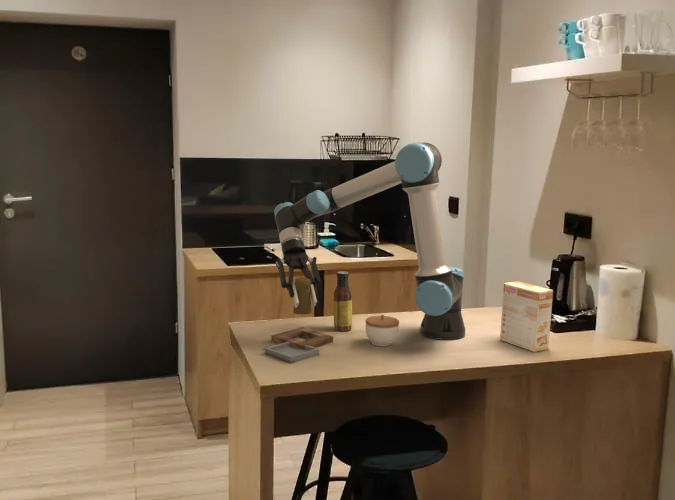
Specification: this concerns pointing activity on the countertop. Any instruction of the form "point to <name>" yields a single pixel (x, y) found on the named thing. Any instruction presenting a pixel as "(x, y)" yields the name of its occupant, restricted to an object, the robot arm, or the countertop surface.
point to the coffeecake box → (526, 316)
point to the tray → (291, 352)
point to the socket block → (314, 336)
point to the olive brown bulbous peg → (303, 296)
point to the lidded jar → (382, 329)
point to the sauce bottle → (342, 303)
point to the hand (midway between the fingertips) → (306, 304)
